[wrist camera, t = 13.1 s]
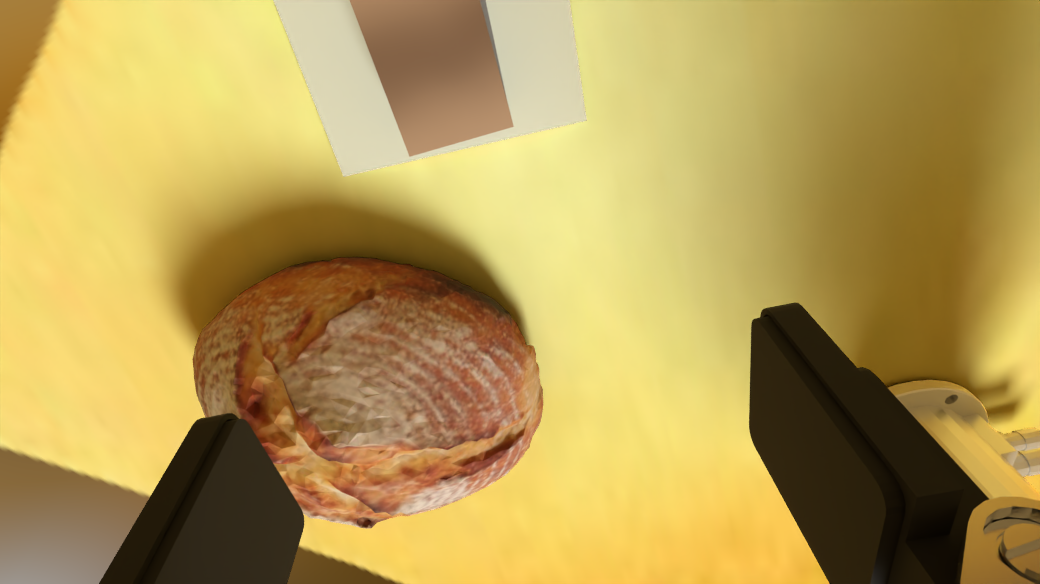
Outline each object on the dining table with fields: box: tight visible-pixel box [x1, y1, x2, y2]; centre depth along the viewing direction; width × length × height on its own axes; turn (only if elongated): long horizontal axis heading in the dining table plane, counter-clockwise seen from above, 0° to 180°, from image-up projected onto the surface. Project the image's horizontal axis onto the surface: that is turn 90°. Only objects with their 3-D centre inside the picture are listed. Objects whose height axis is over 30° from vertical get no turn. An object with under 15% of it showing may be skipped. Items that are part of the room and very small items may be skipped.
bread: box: [193, 257, 543, 528], centre depth 31 cm, size 16×20×10 cm
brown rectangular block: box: [350, 0, 514, 157], centre depth 23 cm, size 7×4×4 cm, turn 15°
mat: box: [273, 0, 587, 177], centre depth 25 cm, size 12×10×1 cm
